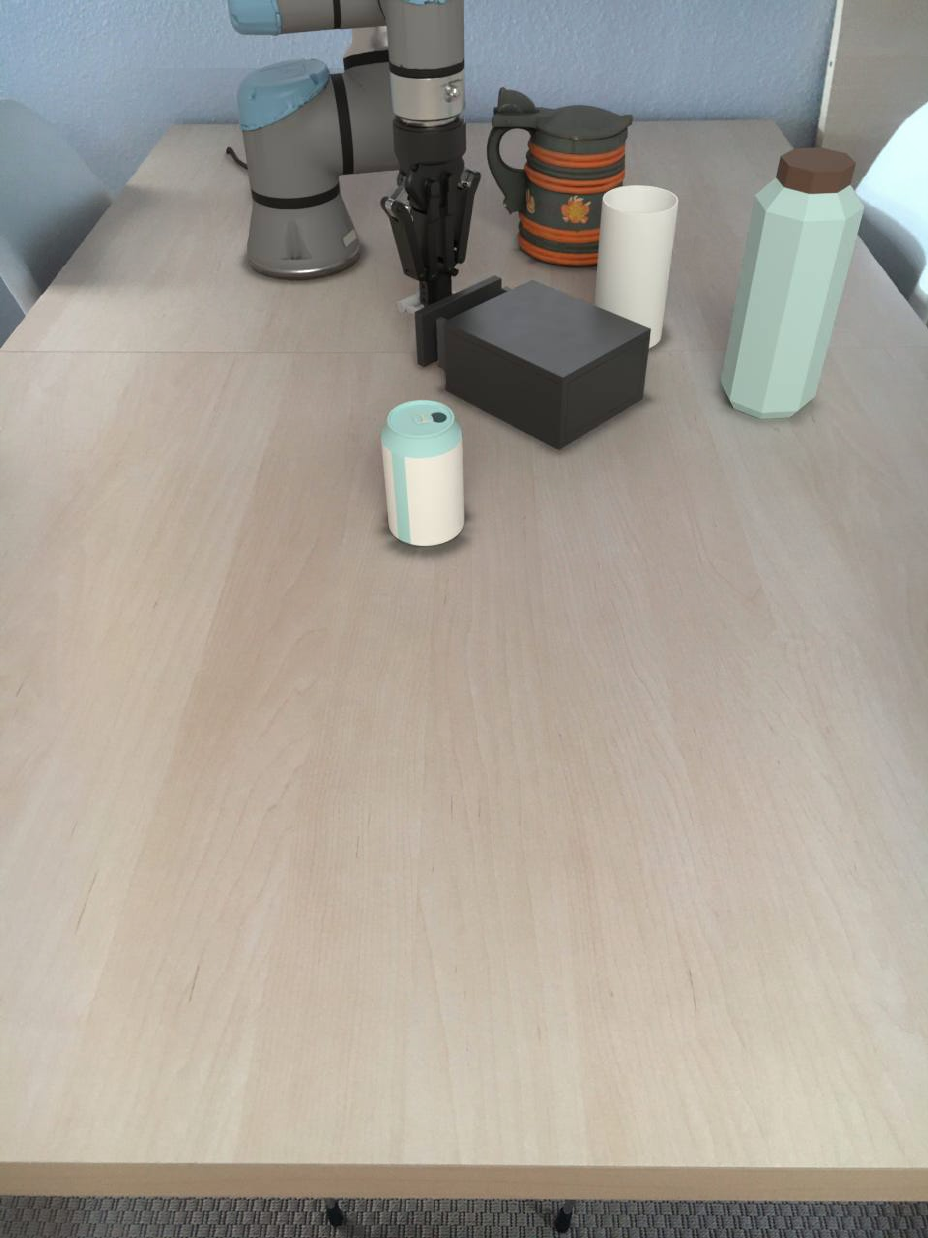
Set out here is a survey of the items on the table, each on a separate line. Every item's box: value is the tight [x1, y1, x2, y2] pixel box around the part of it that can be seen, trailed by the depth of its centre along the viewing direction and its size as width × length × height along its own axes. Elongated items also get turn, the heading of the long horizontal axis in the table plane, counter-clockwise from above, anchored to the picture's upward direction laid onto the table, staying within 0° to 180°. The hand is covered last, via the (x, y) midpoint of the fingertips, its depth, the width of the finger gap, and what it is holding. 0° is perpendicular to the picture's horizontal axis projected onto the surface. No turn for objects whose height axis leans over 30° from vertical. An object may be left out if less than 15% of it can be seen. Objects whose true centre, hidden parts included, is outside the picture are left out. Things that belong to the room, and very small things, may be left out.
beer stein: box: [486, 86, 634, 268], centre depth 130 cm, size 19×15×20 cm
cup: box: [593, 184, 679, 349], centre depth 113 cm, size 8×8×16 cm
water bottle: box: [720, 147, 865, 420], centre depth 99 cm, size 10×10×25 cm
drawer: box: [396, 275, 512, 371], centre depth 111 cm, size 22×13×6 cm, turn 44°
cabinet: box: [444, 279, 651, 451], centre depth 106 cm, size 17×14×8 cm
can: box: [380, 399, 465, 547], centre depth 88 cm, size 7×7×12 cm
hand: (437, 328), depth 117 cm, fingers closed
